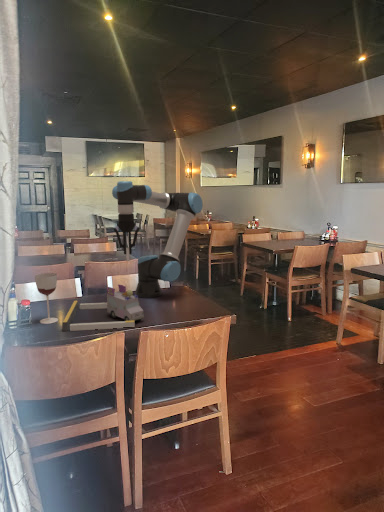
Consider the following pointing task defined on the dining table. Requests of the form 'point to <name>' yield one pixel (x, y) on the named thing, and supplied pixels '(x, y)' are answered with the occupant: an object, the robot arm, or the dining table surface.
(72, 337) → the dining table surface
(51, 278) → the wineglass
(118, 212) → the robot arm
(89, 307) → the dock
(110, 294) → the toy vehicle
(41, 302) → the dining table surface
